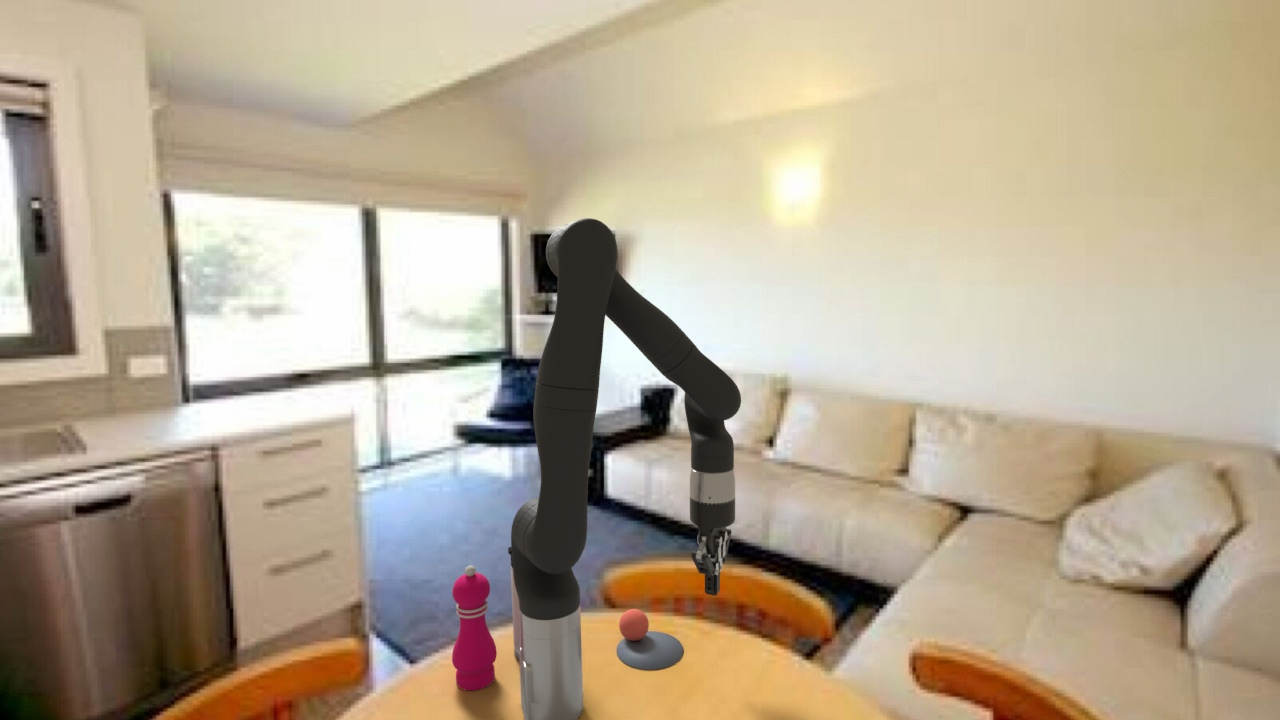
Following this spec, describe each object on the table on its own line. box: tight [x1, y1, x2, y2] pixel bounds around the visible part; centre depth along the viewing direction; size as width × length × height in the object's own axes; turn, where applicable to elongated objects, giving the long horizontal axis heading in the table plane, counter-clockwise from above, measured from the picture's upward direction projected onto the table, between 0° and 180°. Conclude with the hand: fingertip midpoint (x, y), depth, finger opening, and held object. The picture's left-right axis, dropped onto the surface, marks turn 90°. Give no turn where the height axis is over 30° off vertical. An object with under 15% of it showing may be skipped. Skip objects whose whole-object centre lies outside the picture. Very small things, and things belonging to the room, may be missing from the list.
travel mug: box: [507, 546, 521, 660], centre depth 115 cm, size 6×7×20 cm
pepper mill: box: [451, 565, 497, 692], centre depth 107 cm, size 7×7×20 cm
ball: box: [618, 608, 650, 641], centre depth 120 cm, size 6×6×6 cm
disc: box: [615, 630, 684, 671], centre depth 117 cm, size 12×12×1 cm
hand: (712, 592), depth 109 cm, fingers closed
